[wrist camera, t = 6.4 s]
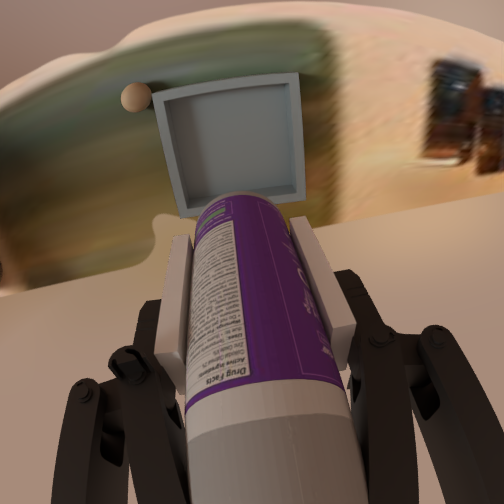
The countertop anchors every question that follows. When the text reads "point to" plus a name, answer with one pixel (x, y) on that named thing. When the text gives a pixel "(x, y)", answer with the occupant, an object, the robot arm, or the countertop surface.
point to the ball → (136, 97)
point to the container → (261, 370)
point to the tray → (233, 139)
